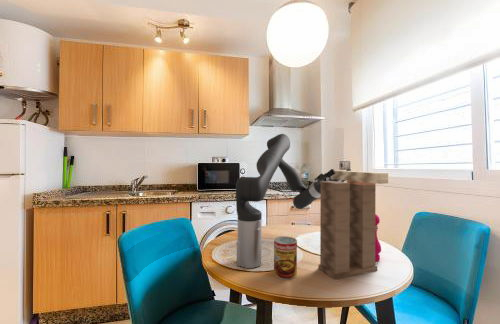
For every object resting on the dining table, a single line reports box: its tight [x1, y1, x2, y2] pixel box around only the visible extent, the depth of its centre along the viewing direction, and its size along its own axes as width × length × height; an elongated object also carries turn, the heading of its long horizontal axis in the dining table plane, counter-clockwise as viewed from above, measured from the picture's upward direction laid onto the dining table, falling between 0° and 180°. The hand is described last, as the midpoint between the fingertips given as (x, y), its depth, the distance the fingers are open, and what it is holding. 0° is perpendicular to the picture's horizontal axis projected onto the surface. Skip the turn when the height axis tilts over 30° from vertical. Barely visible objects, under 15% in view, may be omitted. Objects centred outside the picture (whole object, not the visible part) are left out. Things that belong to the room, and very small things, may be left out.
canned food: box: [273, 235, 298, 280], centre depth 86 cm, size 8×8×12 cm
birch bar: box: [331, 169, 389, 185], centre depth 94 cm, size 24×4×4 cm, turn 22°
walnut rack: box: [317, 180, 378, 280], centre depth 90 cm, size 9×19×32 cm, turn 112°
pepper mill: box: [375, 213, 382, 262], centre depth 100 cm, size 7×7×20 cm
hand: (342, 170), depth 101 cm, fingers open, 8 cm apart
